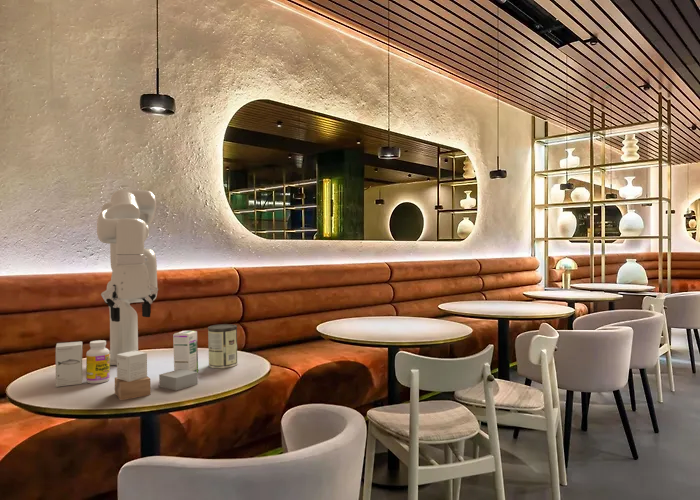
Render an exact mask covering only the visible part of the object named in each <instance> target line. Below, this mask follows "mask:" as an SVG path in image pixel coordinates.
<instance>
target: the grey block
mask: <svg viewBox="0 0 700 500" xmlns="http://www.w3.org/2000/svg"><path fill="white" fill-rule="evenodd" d="M198 374H199V371H198V372H194V371H189V370H184V369H179V370H175V371H174V370H171V371H167V372H162V373H160V374H158V377H159V385H158V386H159V388H164V389H168V390H173V391H178V390H182V389H186V388H189V387H193V386H195V385H196V386H197V385H198V383H199V381H198Z"/></svg>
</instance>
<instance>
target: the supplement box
mask: <svg viewBox="0 0 700 500" xmlns="http://www.w3.org/2000/svg"><path fill="white" fill-rule="evenodd" d="M82 384H83V341H70V342H57V343H56V345H55V388H59V387H66V386H74V385H75V386H76V385H82Z"/></svg>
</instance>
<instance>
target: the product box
mask: <svg viewBox="0 0 700 500" xmlns="http://www.w3.org/2000/svg"><path fill="white" fill-rule="evenodd" d="M147 376H148V353H147V352H143V351H139V350H138V351H130V352H126V353H121V354H117V365H116V377H117V379H120V380H124V381H127V382H131V381H134V380H138V379H142V378H146V377H147Z"/></svg>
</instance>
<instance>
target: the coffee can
mask: <svg viewBox="0 0 700 500" xmlns="http://www.w3.org/2000/svg"><path fill="white" fill-rule="evenodd" d="M207 333H208V334H207V335H208V336H207V337H208V338H207V339H208V341H207V343H208V345H207V346H208V347H207V348H208V367H209V368H210V369H211V368H212V369H228V368H233V367H236V366H237V365H238V325H236V324H231V323H230V324H229V323H223V324H221V323H220V324H213V325H210V326H208V327H207Z"/></svg>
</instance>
